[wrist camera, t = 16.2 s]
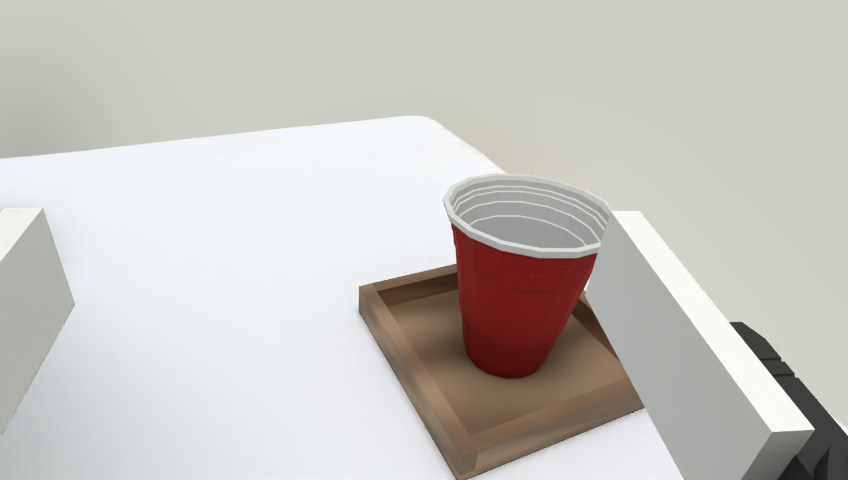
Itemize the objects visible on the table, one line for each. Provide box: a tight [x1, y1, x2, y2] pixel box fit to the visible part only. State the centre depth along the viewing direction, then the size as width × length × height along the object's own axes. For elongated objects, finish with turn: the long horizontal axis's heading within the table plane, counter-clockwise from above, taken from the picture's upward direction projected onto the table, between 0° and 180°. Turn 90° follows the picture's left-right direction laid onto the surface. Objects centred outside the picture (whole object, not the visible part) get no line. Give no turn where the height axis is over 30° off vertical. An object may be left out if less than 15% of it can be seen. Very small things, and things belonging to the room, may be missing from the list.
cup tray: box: [359, 264, 645, 480], centre depth 42 cm, size 16×16×2 cm
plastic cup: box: [443, 174, 616, 378], centre depth 38 cm, size 11×11×12 cm
